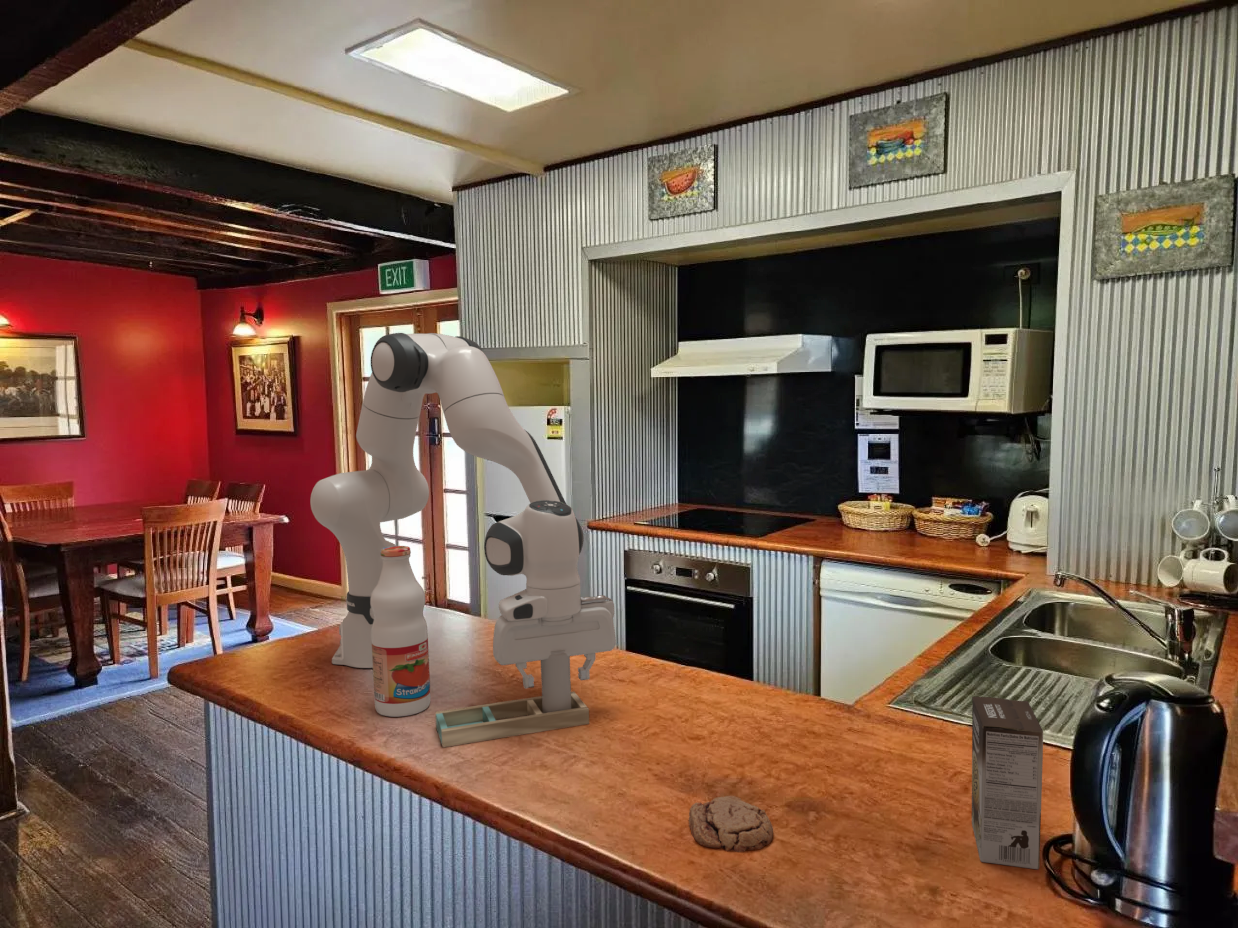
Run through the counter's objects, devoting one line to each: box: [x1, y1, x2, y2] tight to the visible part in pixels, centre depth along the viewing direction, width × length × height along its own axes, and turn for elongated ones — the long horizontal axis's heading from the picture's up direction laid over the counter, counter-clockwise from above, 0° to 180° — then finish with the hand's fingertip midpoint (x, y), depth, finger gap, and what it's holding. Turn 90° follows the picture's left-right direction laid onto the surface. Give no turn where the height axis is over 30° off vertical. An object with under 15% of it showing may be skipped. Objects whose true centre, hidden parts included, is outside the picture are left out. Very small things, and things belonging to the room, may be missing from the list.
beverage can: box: [540, 650, 572, 714], centre depth 137 cm, size 5×5×12 cm
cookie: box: [688, 795, 774, 853], centre depth 102 cm, size 10×11×3 cm
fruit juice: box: [370, 545, 432, 718], centre depth 143 cm, size 9×9×28 cm
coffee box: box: [971, 696, 1044, 870], centre depth 96 cm, size 9×6×16 cm
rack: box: [434, 691, 590, 748], centre depth 135 cm, size 8×24×2 cm, turn 109°
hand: (556, 682), depth 137 cm, fingers open, 8 cm apart
